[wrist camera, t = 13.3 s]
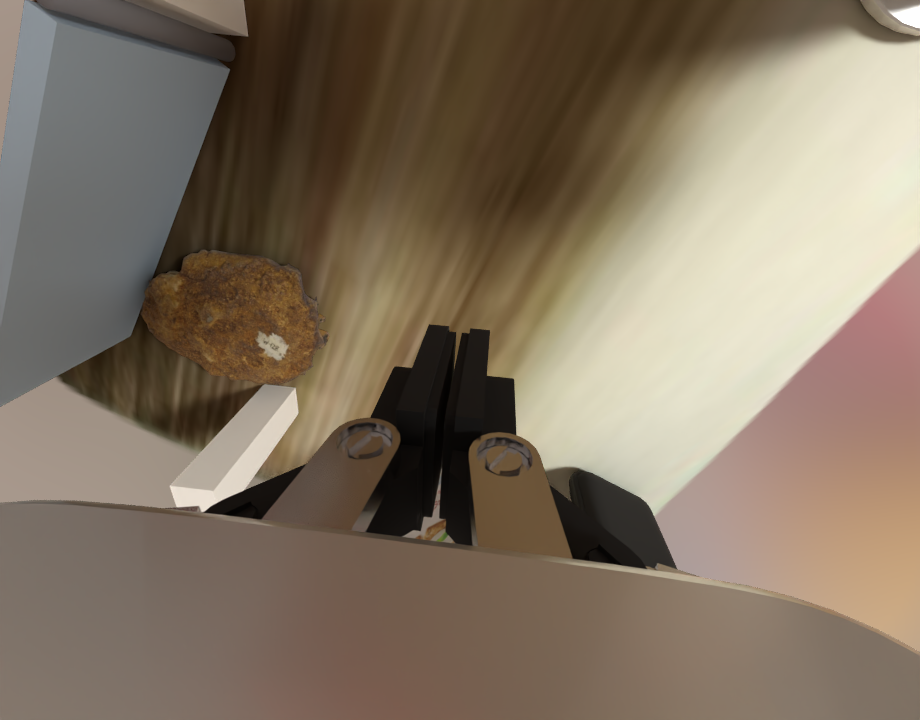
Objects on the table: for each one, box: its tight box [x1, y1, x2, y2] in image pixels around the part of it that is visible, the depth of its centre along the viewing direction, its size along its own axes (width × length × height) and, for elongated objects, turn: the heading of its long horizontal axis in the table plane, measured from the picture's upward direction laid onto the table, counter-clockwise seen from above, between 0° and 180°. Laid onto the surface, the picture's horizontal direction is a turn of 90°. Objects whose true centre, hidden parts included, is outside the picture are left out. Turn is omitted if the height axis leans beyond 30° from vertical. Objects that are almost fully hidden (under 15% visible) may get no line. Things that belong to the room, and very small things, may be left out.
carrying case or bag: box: [569, 472, 677, 569], centre depth 36 cm, size 11×3×15 cm, turn 60°
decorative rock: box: [141, 250, 329, 384], centre depth 34 cm, size 11×4×15 cm
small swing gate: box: [125, 0, 298, 512], centre depth 26 cm, size 38×3×13 cm, turn 175°
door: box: [0, 0, 235, 407], centre depth 26 cm, size 26×3×12 cm, turn 143°
